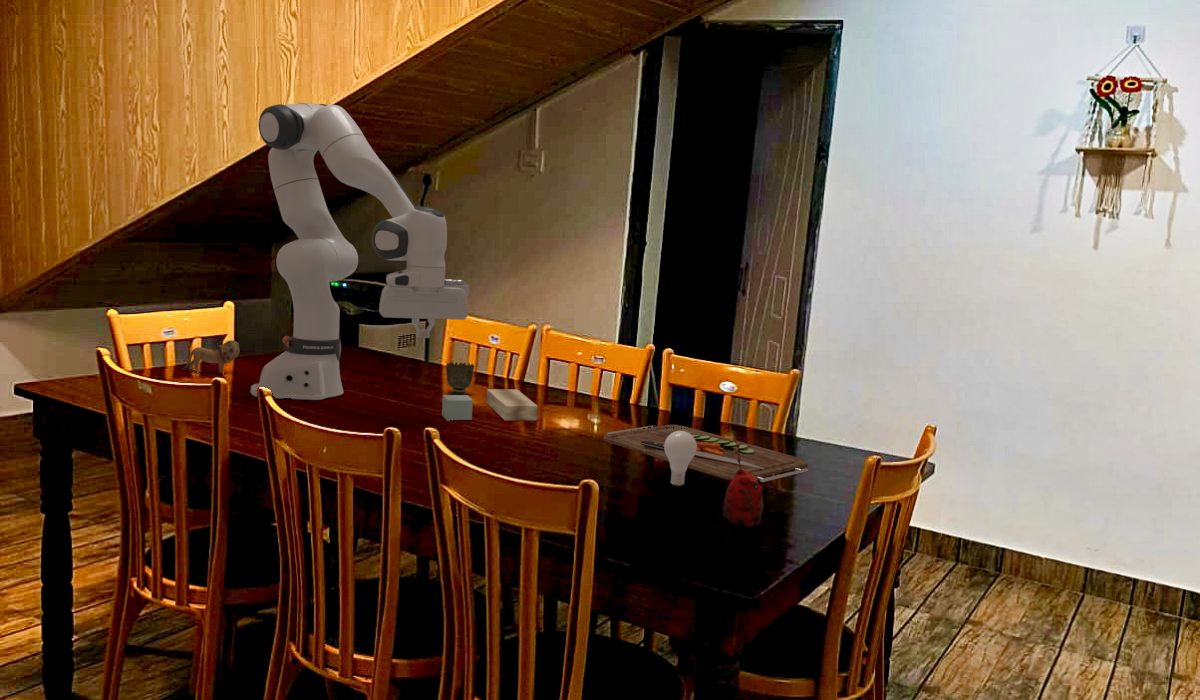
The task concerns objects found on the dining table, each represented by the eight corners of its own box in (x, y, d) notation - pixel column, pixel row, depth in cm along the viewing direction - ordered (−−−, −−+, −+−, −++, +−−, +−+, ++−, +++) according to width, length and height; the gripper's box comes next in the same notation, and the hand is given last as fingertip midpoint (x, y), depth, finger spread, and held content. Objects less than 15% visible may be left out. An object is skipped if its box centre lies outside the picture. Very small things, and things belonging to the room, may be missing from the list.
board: (504, 420, 248) (505, 406, 247) (486, 402, 266) (487, 389, 266) (536, 420, 250) (537, 406, 250) (516, 402, 269) (517, 389, 268)
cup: (470, 397, 271) (472, 367, 270) (442, 395, 271) (444, 365, 270) (474, 392, 278) (476, 362, 277) (447, 390, 279) (448, 360, 277)
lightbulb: (691, 482, 206) (696, 428, 204) (695, 491, 199) (700, 436, 198) (659, 480, 205) (664, 426, 204) (662, 489, 199) (667, 433, 197)
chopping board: (822, 470, 225) (823, 456, 224) (746, 488, 206) (748, 473, 206) (667, 426, 256) (668, 414, 256) (590, 439, 238) (591, 426, 237)
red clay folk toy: (761, 531, 178) (769, 446, 176) (720, 525, 180) (728, 441, 177) (761, 517, 186) (770, 436, 184) (722, 513, 187) (730, 432, 185)
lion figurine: (240, 371, 283) (240, 339, 281) (238, 375, 278) (238, 342, 276) (182, 370, 279) (183, 337, 278) (179, 373, 274) (180, 340, 273)
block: (446, 421, 243) (447, 400, 242) (441, 415, 249) (442, 395, 248) (471, 421, 245) (472, 400, 244) (466, 415, 251) (467, 395, 250)
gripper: (467, 278, 245) (464, 336, 247) (379, 275, 238) (377, 334, 241) (472, 281, 239) (469, 340, 241) (383, 277, 233) (380, 338, 235)
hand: (422, 337), depth 241 cm, fingers closed
